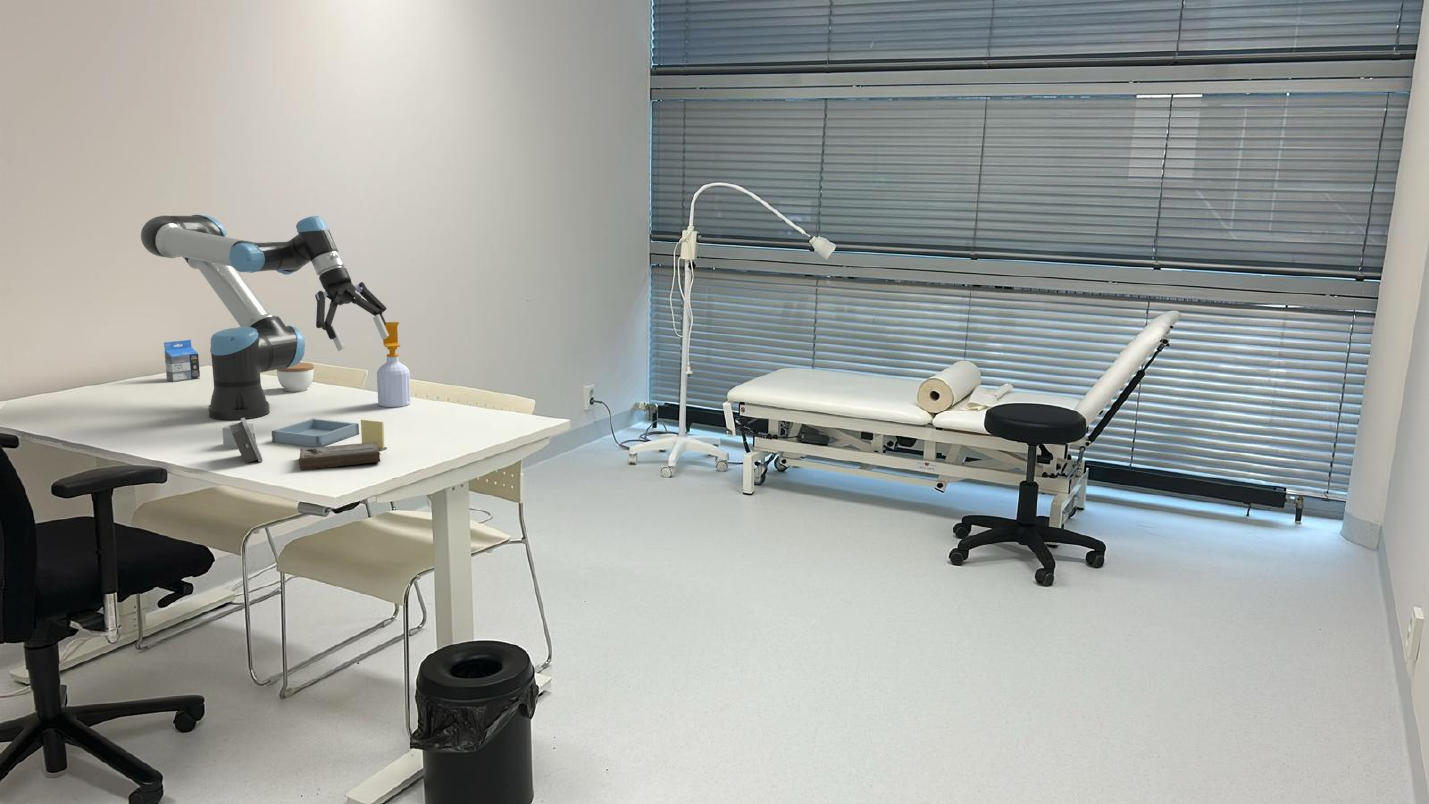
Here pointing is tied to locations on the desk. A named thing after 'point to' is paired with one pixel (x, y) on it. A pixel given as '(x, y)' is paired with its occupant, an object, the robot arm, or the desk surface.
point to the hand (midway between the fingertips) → (364, 343)
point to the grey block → (231, 436)
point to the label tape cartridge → (181, 361)
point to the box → (338, 455)
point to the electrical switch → (246, 441)
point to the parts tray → (315, 432)
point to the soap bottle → (393, 374)
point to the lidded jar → (296, 377)
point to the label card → (373, 433)
